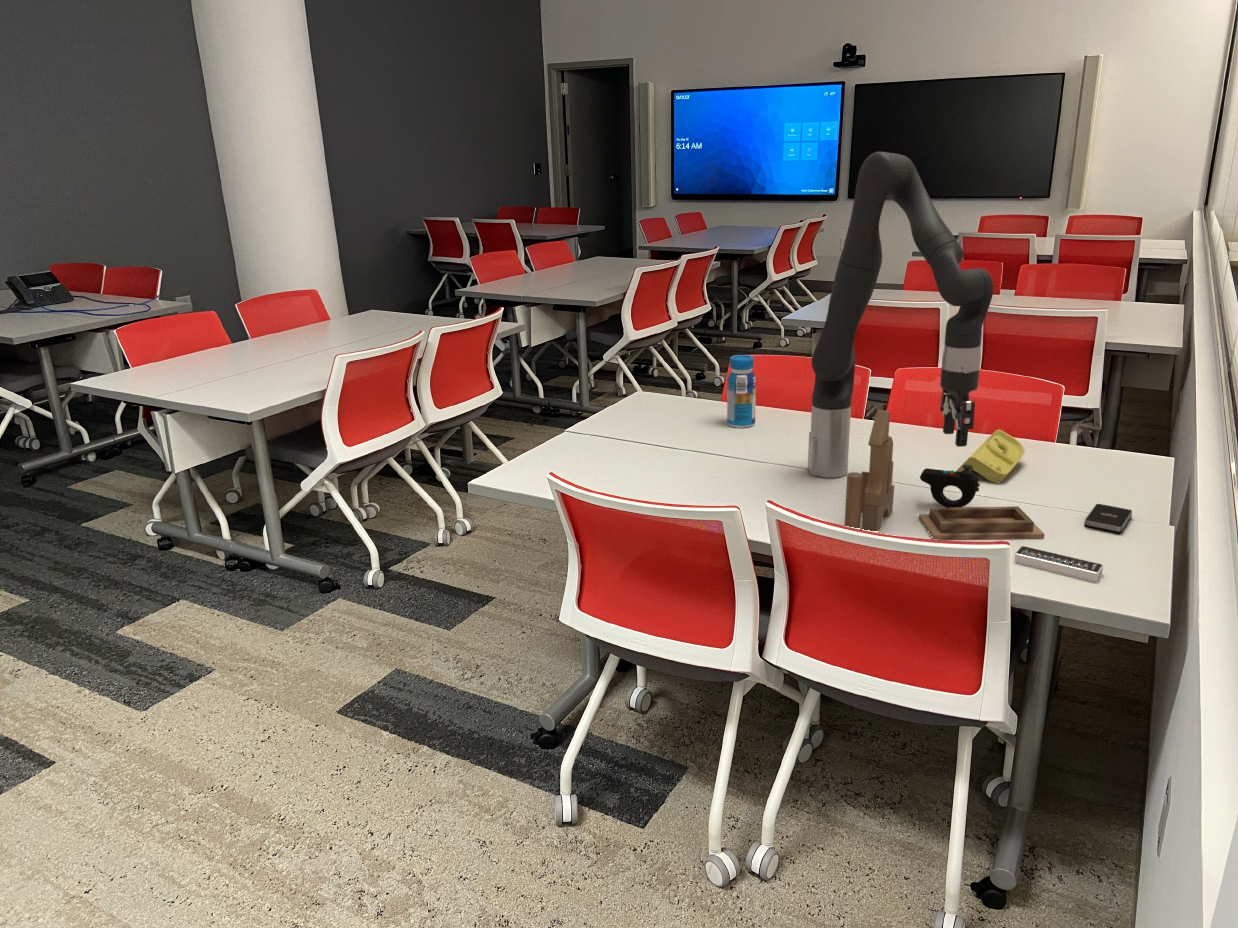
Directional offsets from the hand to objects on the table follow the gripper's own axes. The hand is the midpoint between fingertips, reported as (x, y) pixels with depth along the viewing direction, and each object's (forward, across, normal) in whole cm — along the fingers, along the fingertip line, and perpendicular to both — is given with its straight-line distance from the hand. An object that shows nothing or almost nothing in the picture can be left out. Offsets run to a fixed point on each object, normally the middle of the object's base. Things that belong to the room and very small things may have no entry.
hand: (954, 439), depth 190 cm
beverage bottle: (+15, -64, -40) cm, 77 cm away
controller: (+16, 0, 0) cm, 16 cm away
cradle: (+16, +12, +2) cm, 20 cm away
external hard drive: (+16, +10, +29) cm, 35 cm away
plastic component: (+16, -22, +17) cm, 33 cm away
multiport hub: (+16, +31, +11) cm, 36 cm away
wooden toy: (+15, +8, -20) cm, 26 cm away
